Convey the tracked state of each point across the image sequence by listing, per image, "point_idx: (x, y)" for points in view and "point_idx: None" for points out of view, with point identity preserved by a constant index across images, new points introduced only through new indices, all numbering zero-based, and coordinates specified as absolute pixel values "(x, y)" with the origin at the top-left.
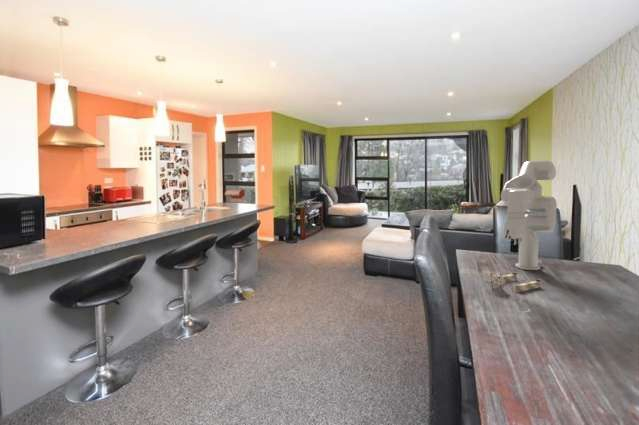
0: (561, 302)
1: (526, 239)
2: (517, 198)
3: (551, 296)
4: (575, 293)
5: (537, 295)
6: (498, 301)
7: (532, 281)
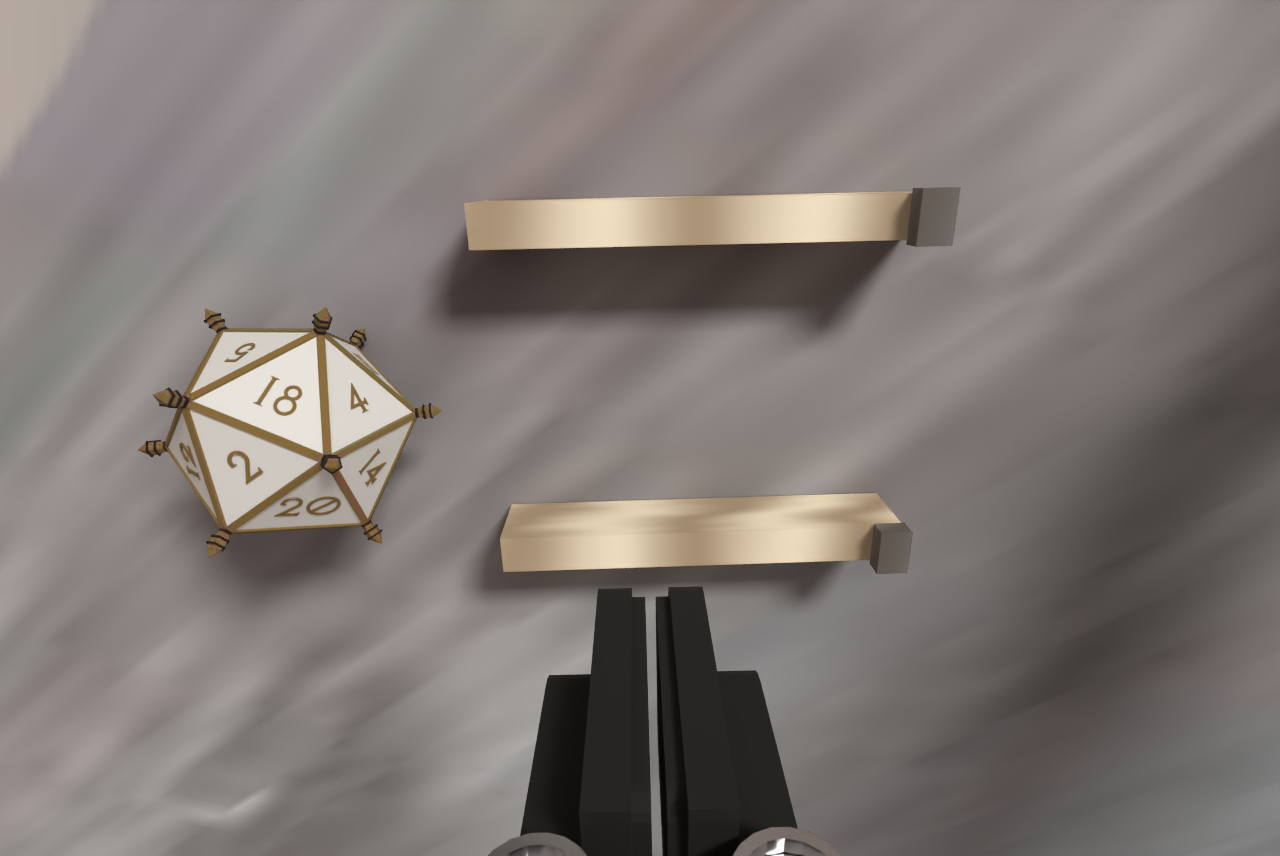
0: None
1: None
2: None
3: None
4: (966, 735)
5: None
6: (121, 620)
7: (809, 528)
